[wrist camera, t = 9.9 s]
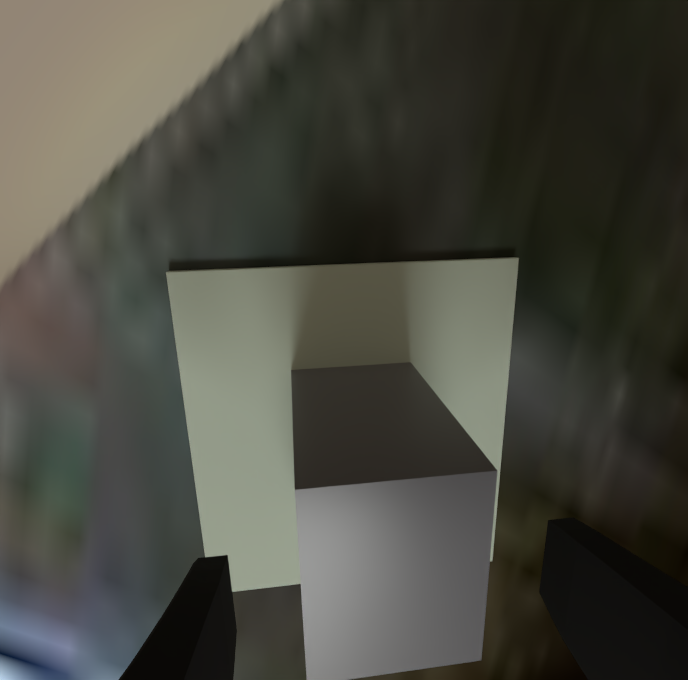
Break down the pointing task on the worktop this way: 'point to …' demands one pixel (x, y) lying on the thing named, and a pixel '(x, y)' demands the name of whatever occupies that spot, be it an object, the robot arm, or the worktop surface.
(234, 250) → the worktop surface
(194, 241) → the worktop surface
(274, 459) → the rubber mat
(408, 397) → the block
